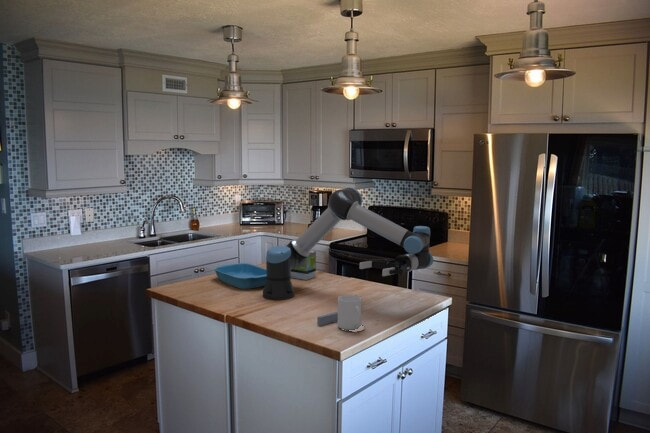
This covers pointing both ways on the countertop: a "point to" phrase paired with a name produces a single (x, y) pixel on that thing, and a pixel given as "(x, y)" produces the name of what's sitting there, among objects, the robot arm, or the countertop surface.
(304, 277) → the tea box
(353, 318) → the mug
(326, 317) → the wall
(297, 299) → the countertop surface
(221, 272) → the casserole dish
